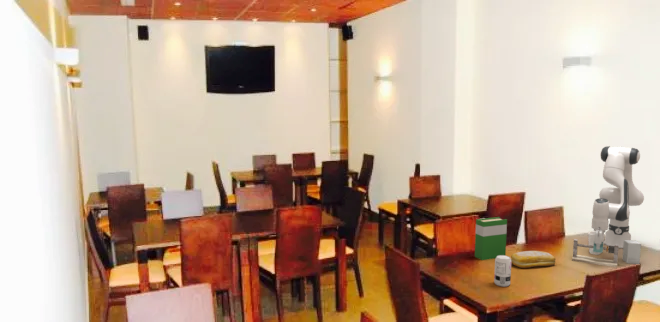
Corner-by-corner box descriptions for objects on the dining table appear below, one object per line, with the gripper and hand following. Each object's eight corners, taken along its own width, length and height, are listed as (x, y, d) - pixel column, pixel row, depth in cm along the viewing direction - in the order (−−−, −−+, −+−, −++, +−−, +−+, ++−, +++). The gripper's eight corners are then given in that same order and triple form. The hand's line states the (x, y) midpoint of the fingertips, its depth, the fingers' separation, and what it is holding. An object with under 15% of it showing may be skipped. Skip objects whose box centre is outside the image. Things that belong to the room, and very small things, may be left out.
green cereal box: (497, 253, 324) (499, 217, 321) (505, 256, 317) (507, 219, 314) (474, 256, 318) (476, 219, 315) (482, 260, 311) (483, 222, 308)
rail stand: (573, 256, 318) (574, 237, 317) (617, 262, 306) (618, 243, 304) (571, 260, 310) (573, 241, 308) (616, 267, 297) (618, 247, 296)
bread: (506, 263, 305) (507, 251, 304) (542, 259, 313) (543, 247, 312) (521, 271, 292) (521, 257, 291) (558, 266, 300) (559, 253, 299)
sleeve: (593, 249, 309) (594, 241, 309) (602, 250, 307) (603, 242, 306) (593, 251, 306) (593, 242, 305) (602, 252, 303) (603, 244, 302)
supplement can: (491, 281, 275) (492, 255, 273) (506, 281, 276) (507, 254, 274) (497, 287, 267) (499, 259, 265) (512, 286, 268) (514, 259, 266)
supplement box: (639, 264, 303) (641, 243, 302) (626, 263, 305) (627, 243, 303) (635, 260, 310) (636, 240, 309) (621, 259, 312) (623, 239, 310)
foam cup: (585, 253, 323) (586, 233, 322) (587, 250, 331) (588, 230, 329) (602, 256, 318) (603, 236, 316) (603, 252, 326) (605, 232, 324)
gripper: (604, 230, 294) (603, 253, 296) (606, 222, 311) (605, 244, 313) (592, 228, 297) (591, 251, 299) (595, 221, 314) (593, 243, 316)
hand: (598, 247), depth 306 cm, fingers closed on sleeve, 4 cm apart
